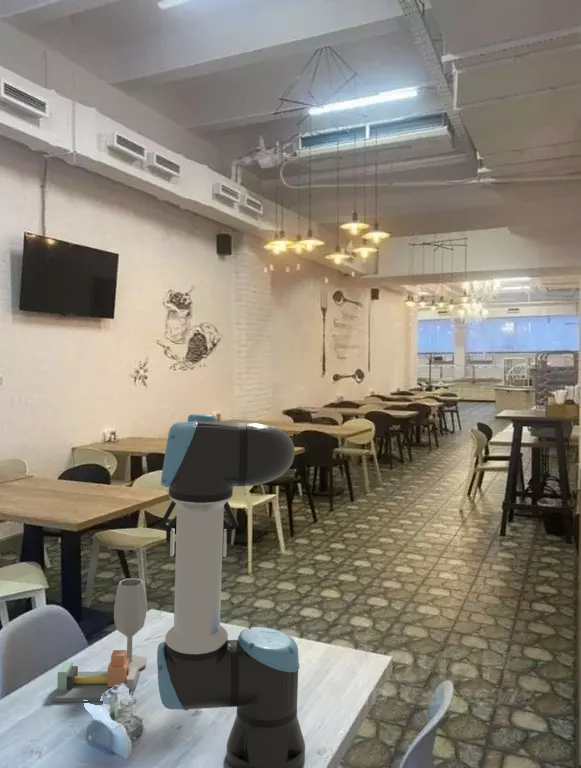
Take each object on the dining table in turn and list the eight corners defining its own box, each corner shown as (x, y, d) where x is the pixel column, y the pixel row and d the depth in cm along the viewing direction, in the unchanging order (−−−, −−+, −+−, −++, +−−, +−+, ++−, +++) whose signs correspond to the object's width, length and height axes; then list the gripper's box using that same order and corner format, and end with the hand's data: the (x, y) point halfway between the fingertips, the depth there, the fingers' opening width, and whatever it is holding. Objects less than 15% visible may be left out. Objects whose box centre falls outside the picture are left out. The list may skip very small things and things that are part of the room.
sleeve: (125, 687, 142) (125, 657, 142) (107, 687, 142) (108, 657, 141) (128, 677, 146) (129, 648, 146) (111, 677, 146) (112, 648, 146)
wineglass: (151, 659, 159) (153, 577, 158) (140, 675, 150) (142, 588, 150) (118, 657, 160) (120, 575, 159) (105, 672, 151) (107, 586, 151)
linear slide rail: (131, 701, 138) (131, 678, 138) (52, 702, 137) (53, 679, 137) (139, 675, 150) (140, 654, 150) (67, 676, 149) (67, 655, 149)
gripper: (248, 472, 166) (246, 551, 166) (154, 470, 165) (152, 550, 165) (248, 476, 159) (246, 559, 159) (149, 474, 157) (147, 558, 157)
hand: (198, 555), depth 162 cm, fingers open, 13 cm apart
